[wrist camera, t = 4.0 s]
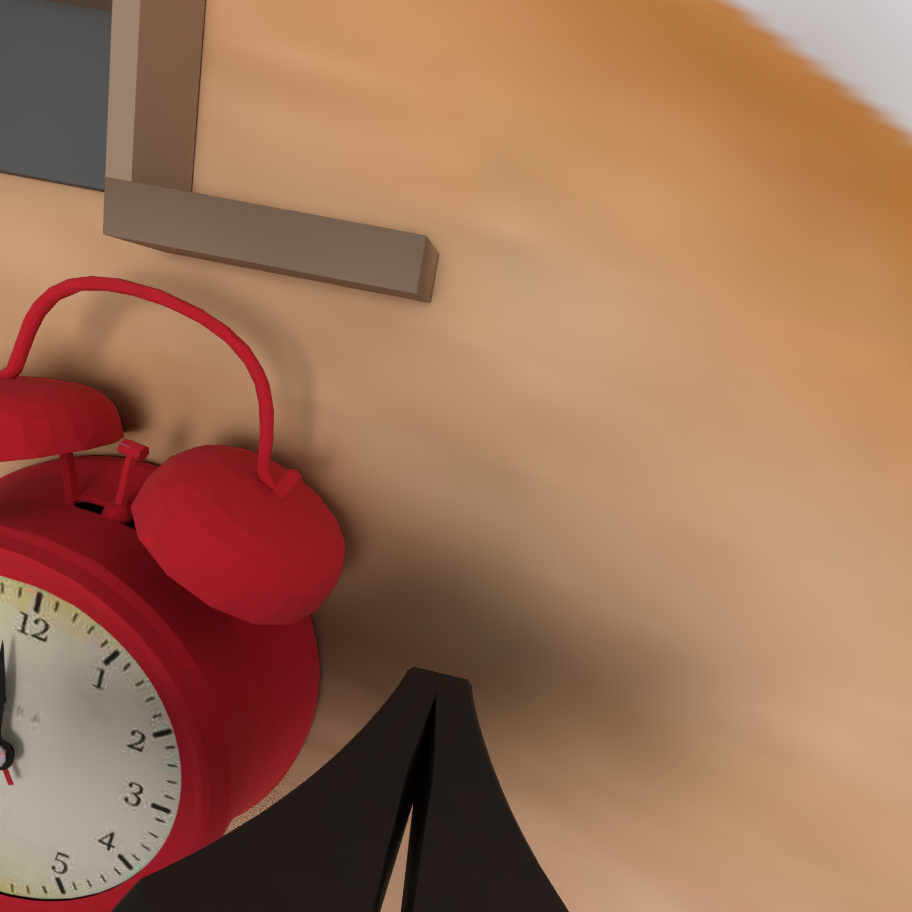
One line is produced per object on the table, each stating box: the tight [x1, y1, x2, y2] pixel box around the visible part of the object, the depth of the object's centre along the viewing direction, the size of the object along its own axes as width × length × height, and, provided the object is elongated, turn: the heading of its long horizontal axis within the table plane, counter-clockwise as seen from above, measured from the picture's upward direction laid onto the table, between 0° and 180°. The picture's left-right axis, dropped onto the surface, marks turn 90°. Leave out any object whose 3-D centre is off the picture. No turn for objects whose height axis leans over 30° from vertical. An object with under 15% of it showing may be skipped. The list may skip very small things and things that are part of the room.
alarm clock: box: [0, 276, 345, 912], centre depth 11 cm, size 10×6×15 cm
